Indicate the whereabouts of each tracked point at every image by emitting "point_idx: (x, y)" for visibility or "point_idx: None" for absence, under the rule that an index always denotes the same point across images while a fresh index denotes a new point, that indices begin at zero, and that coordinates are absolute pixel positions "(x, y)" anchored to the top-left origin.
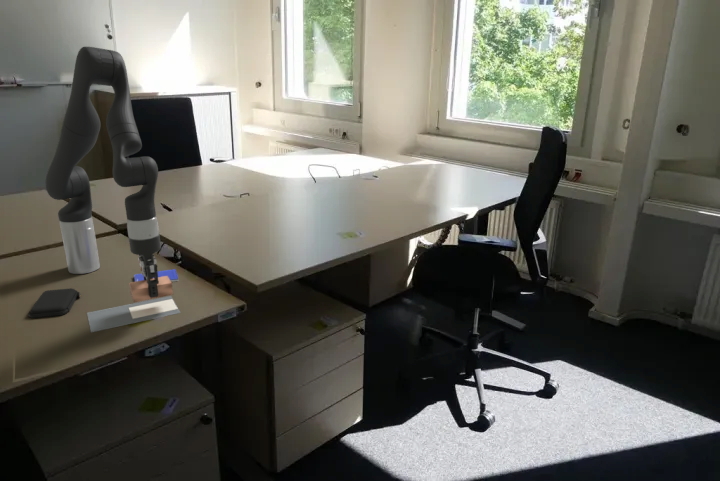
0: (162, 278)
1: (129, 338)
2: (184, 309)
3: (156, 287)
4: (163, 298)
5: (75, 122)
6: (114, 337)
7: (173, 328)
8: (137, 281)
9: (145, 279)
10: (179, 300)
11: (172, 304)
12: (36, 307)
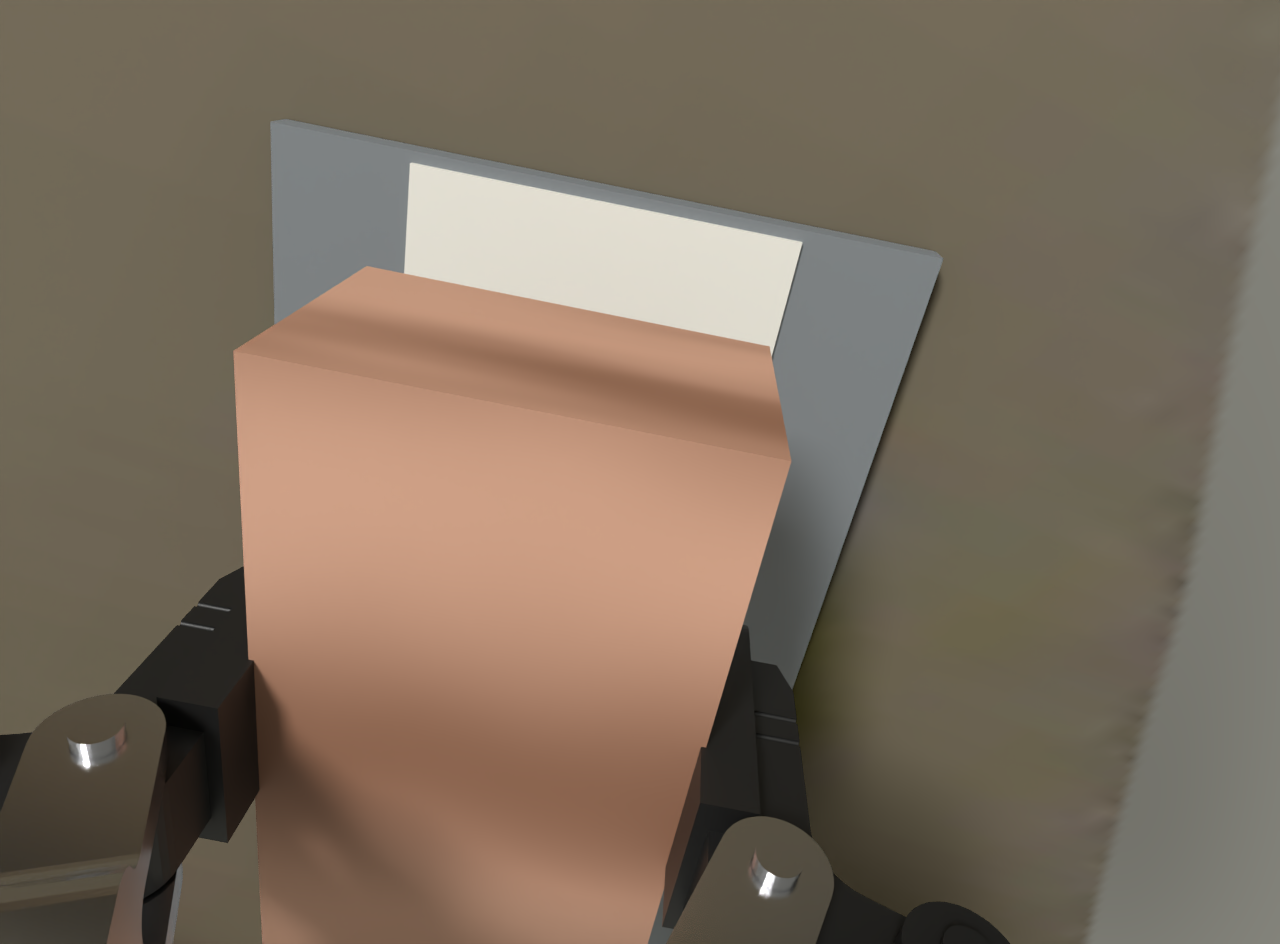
0: (366, 517)
1: (997, 831)
2: (812, 129)
3: (753, 756)
4: (317, 261)
5: None
6: (874, 893)
7: (1197, 480)
8: (267, 878)
9: (254, 780)
10: (454, 51)
11: (605, 243)
12: None
